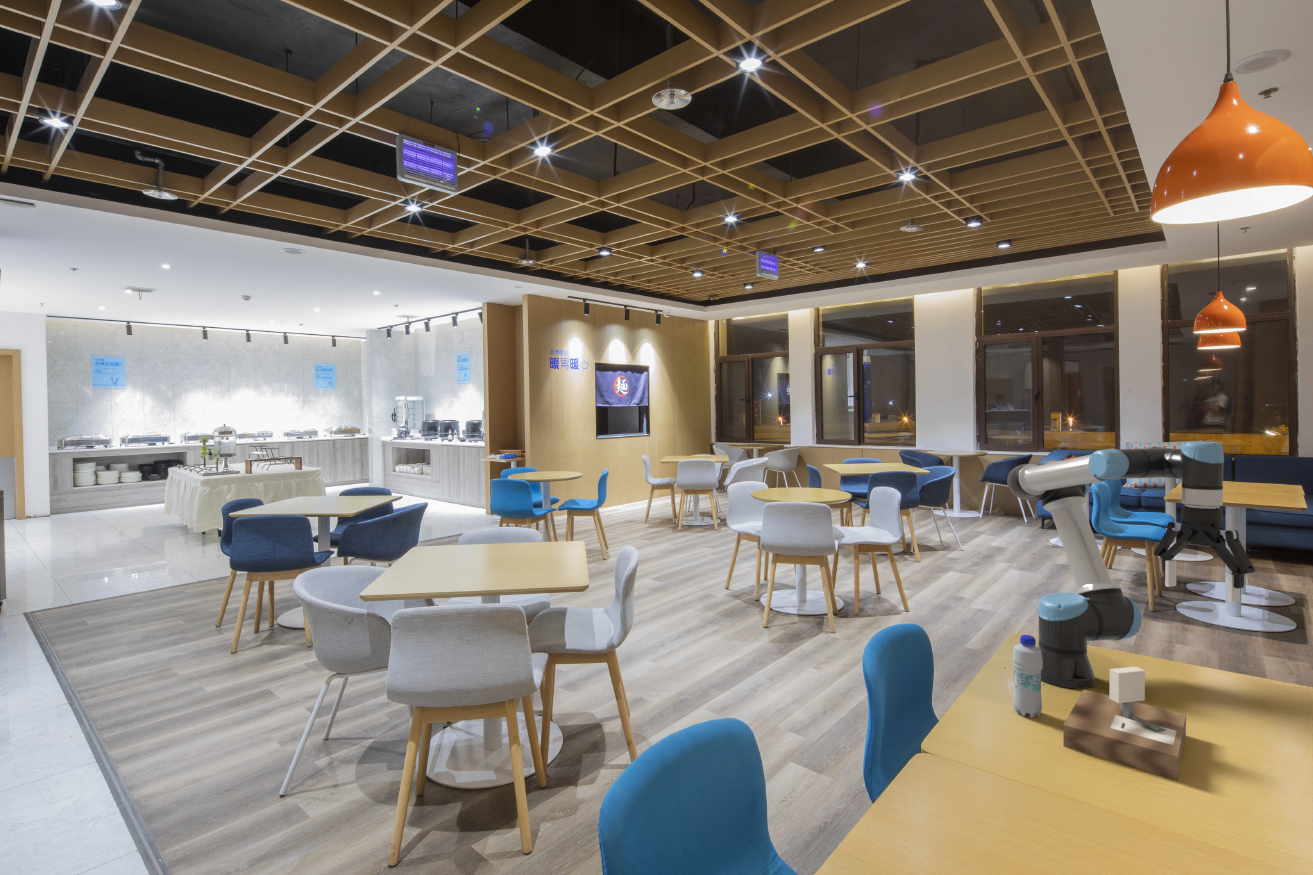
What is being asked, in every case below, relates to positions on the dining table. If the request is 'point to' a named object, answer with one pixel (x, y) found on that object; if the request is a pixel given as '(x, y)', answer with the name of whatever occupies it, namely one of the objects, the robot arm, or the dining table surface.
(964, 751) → the dining table surface
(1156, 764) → the wooden box with sign
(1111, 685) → the white box with rod
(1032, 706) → the bottle
